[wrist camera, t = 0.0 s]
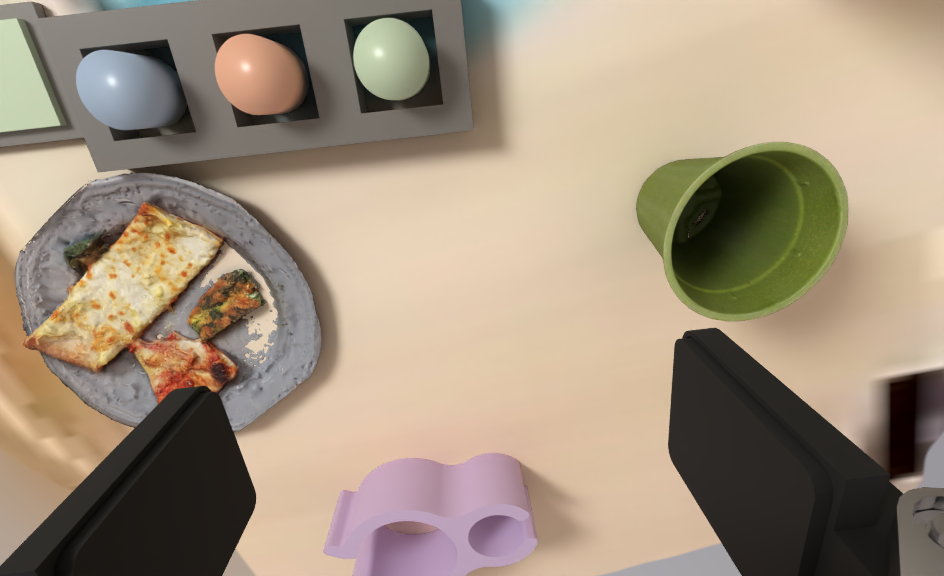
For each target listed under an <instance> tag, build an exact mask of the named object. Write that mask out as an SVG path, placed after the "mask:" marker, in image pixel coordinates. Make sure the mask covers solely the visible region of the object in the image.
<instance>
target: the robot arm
mask: <svg viewBox="0 0 944 576" xmlns="http://www.w3.org/2000/svg"><path fill="white" fill-rule="evenodd" d="M668 448H669V454H670V457H671V460H672V462H673V464H674V466H675V467H676V469H677V471H678V472H679V474H680V476H681V477H682V479H683V480H684V482H685V484H686V485H687V487H688V489H689V490H690V492H691V494H692V495H693V497H694V498H695V500H696V502H697V503H698V505H699V507H700V508H701V510H702V512H703V513H704V515H705V516H706V518H707V520H708V521H709V523H710V525H711V526H712V528H713V529H714V531H715V533H716V534H717V536H718V538H719V539H720V541H721V543H722V544H723V546H724V547H725V549H726V551H727V552H728V554H729V556H730V557H731V559H732V561H733V562H734V564H735V565H736V567H737V569H738V570H739V572H740V574H741V575H742V576H944V488H928V487H927V488H926V487H923V488H918V489H912V490H909V491H907V492H906V493H904V494H903V493H902V492H901V491H900V490H898V489H897V488H896V487H895V486H894V485H893V484H892V483H890V482H889V478H890V474H889V473H888V472H887V471H886V470H884V469H883V468H882V467H881V466H880V465H878V464H877V463H876V462H875V461H874V460H873V459H871V458H870V457H869V456H868V455H867V454H865V453H864V452H863V451H862V450H861V449H860V448H858V447H857V446H856V445H855V444H854V443H853V442H851V441H850V440H849V439H848V438H847V437H845V436H844V435H843V434H842V433H841V432H840V431H838V430H837V429H836V428H835V427H834V426H833V425H831V424H830V423H829V422H828V421H827V420H825V419H824V418H823V417H822V416H821V415H820V414H818V413H817V412H816V411H815V410H814V409H812V408H811V407H810V406H809V405H808V404H807V403H805V402H804V401H803V400H802V399H801V398H800V397H798V396H797V395H796V394H795V393H794V392H792V391H791V390H790V389H789V388H788V387H787V386H785V385H784V384H783V383H782V382H781V381H779V380H778V379H777V378H776V377H775V376H774V375H772V374H771V373H770V372H769V371H768V370H767V369H765V368H764V367H763V366H762V365H761V364H759V363H758V362H757V361H756V360H755V359H754V358H752V357H751V356H750V355H749V354H748V353H747V352H745V351H744V350H743V349H742V348H741V347H739V346H738V345H737V344H736V343H735V342H734V341H732V340H731V339H730V338H729V337H728V336H726V335H725V334H724V333H723V332H722V331H721V330H719V329H717V328H708V329H700V330H691V331H686V332H685V333H684V335H683V338H682V339H678V340H676V343H675V348H674V363H673V379H672V394H671V409H670V424H669V440H668ZM255 504H256V492H255V489H254V486H253V484H252V481H251V478H250V475H249V473H248V470H247V467H246V465H245V462H244V459H243V457H242V454H241V451H240V448H239V446H238V443H237V440H236V438H235V435H234V432H233V430H232V427H231V424H230V421H229V419H228V416H227V413H226V411H225V408H224V405H223V403H222V400H221V397H220V396H219V394H218V393H217V392H212V391H211V390H210V389H209V388H208V387H207V386H196V387H188V388H179V389H174V390H172V391H171V392H170V393H169V394H168V395H167V396H166V397H165V398H164V399H163V400H162V401H161V402H160V403H159V404H158V405H157V406H156V407H155V408H154V409H153V410H152V411H151V412H150V413H149V414H148V415H147V416H146V417H145V418H144V419H143V420H142V421H141V422H140V423H139V424H138V425H137V426H136V427H135V429H134V430H133V431H132V432H131V433H130V434H129V435H128V436H127V437H126V438H125V439H124V440H123V441H122V442H121V443H120V444H119V445H118V446H117V447H116V448H115V449H114V450H113V451H112V452H111V453H110V454H109V455H108V456H107V457H106V458H105V459H104V460H103V461H102V462H101V463H100V464H99V465H98V466H97V467H96V468H95V469H94V471H93V472H92V473H91V474H90V475H89V476H88V477H87V478H86V479H85V480H84V481H83V482H82V483H81V484H80V485H79V486H78V487H77V488H76V489H75V490H74V491H73V492H72V493H71V494H70V495H69V496H68V497H67V498H66V499H65V500H64V501H63V502H62V503H61V504H60V505H59V506H58V507H57V508H56V509H55V510H54V511H53V513H52V514H51V515H50V516H49V517H48V518H47V519H46V520H45V521H44V522H43V523H42V524H41V525H40V526H39V527H38V528H37V529H36V530H35V531H34V532H33V533H32V534H31V535H30V536H29V537H28V538H27V539H26V540H25V541H24V542H23V543H22V544H21V545H20V546H19V547H18V549H16V550H15V552H14V553H12V555H11V556H10V557H9V558H8V559H7V560H6V561H5V562H4V563H3V564H2V565H1V566H0V576H222V575H223V573H224V571H225V569H226V567H227V564H228V562H229V560H230V558H231V556H232V554H233V552H234V550H235V548H236V546H237V544H238V542H239V540H240V538H241V536H242V534H243V532H244V530H245V528H246V525H247V523H248V521H249V519H250V517H251V515H252V513H253V511H254V508H255Z"/></svg>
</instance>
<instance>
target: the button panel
mask: <svg viewBox="0 0 944 576" xmlns="http://www.w3.org/2000/svg"><path fill="white" fill-rule="evenodd" d="M429 17H433V22H434V30H435V39H436V47H437V55H438V64H439V72H440V81H441V89H442V98H443V104H442V105H433V106H424V107H415V108H406V109H397V110H388V111H379V112H370V113H368V110H367V105H366V99H365V93H364V88H363V84H362V82H361V81H360V79H359V77H358V75H357V73H356V70H355V66H354V59H353V53H354V47H355V43H356V42H355V37H354V31H353V26H357V25H366V24H370V23H371V22H373V21H375V20H378V19H382V18H395V19H398V20H401V21H402V20H411V19H420V18H429ZM37 21H38V24H39V26H40V29H41V31H42V34H43V36H44V39H45V41H46V44H47V46H48V49H49V51H50V54H51V56H52V59H53V61H54V64H55V66H56V69H57V71H58V74H59V76H60V79H61V81H62V84H63V86H64V89H65V91H66V94H67V96H68V99H69V101H70V104H71V106H72V109H73V111H74V114H75V116H76V119H77V121H78V124H79V126H80V129H81V131H82V134H83V136H84V139H85V141H86V144H87V146H88V149H89V151H90V154H91V156H92V159H93V161H94V164H95V166H96V169H97V171H98V172H106V171H115V170H123V169H132V168H141V167H150V166H159V165H168V164H177V163H186V162H195V161H204V160H213V159H222V158H231V157H240V156H249V155H257V154H266V153H275V152H284V151H293V150H302V149H311V148H320V147H329V146H338V145H347V144H356V143H365V142H374V141H383V140H391V139H400V138H409V137H418V136H427V135H436V134H445V133H454V132H463V131H472V130H474V129H473V119H472V109H471V99H470V88H469V78H468V68H467V58H466V47H465V37H464V27H463V16H462V6H461V0H197V1H188V2H179V3H170V4H161V5H152V6H143V7H135V8H126V9H117V10H108V11H99V12H90V13H81V14H72V15H64V16H55V17H46V18H37ZM295 32H301V33H302V38H303V42H304V47H305V52H306V56H307V61H308V66H309V70H310V75H311V80H312V84H313V89H314V94H315V99H316V103H317V108H318V113H319V117H320V118H317V119H308V120H299V121H290V122H281V123H272V124H263V125H254V124H253V120H252V117H251V114H249V113H246V112H244V111H242V110H240V109H238V108H236V107H235V106H234V105H233V104H231V103H230V102H229V101H228V100H227V98H226V97H225V96H224V95H223V93H222V91H221V90H220V88H219V85H218V83H217V80H216V75H215V60H216V56H217V53H218V51H219V49H220V48H221V46H222V45H223V44H224V43H225V42H226V41H227V40H228V39H230V38H231V37H233V36H236V35H240V34H253V35H257V36H268V35H277V34H286V33H295ZM162 47H170V49H171V52H172V56H173V59H174V62H175V65H176V68H177V72H178V75H179V78H180V81H181V85H182V88H183V91H184V94H185V97H186V101H187V104H188V107H189V110H190V113H191V117H192V120H193V123H194V126H195V130H196V132H192V133H183V134H174V135H165V136H156V137H147V138H140V137H139V134H138V131H137V129H134V130H120V129H115V128H112V127H109V126H107V125H105V124H103V123H102V122H100V121H99V120H98V119H96V118H95V117H94V116H93V115H92V114H91V113H90V112H89V111H88V110H87V108H86V107H85V106H84V104H83V102H82V101H81V98H80V96H79V93H78V90H77V86H76V73H77V69H78V66H79V64H80V62H81V61H82V60H83V58H84V57H86V56H87V55H88V54H90V53H92V52H94V51H98V50H112V51H119V52H126V51H135V50H144V49H153V48H162Z"/></svg>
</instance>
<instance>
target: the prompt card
mask: <svg viewBox="0 0 944 576" xmlns="http://www.w3.org/2000/svg"><path fill="white" fill-rule="evenodd" d="M37 18H46V15H45V12H44V10H43V7H42V5H41V4H39V3H35V2H24V3H15V4H6V5H0V147H5V146H14V145H23V144H32V143H41V142H50V141H59V140H68V139H76V138H84V136H83V134H82V131H81V129H80V126H79V124H78V121H77V119H76V116H75V114H74V111H73V109H72V106H71V104H70V101H69V99H68V96H67V94H66V91H65V89H64V86H63V84H62V81H61V79H60V76H59V74H58V71H57V69H56V66H55V64H54V61H53V59H52V56H51V54H50V51H49V49H48V46H47V44H46V41H45V39H44V36H43V34H42V31H41V29H40V26H39V24H38V21H37Z"/></svg>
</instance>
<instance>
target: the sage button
mask: <svg viewBox="0 0 944 576" xmlns="http://www.w3.org/2000/svg"><path fill="white" fill-rule="evenodd" d="M353 59H354V66H355V70H356V73H357V75H358V77H359V79H360V81H361V82H362V84H363V85H364V86H365V87H366V88H367V89H368V90H369V91H370V92H371V93H373V94H374V95H376V96H378V97H380V98H383V99H387V100H407V99H410V98H412V97H414V96H416V95H417V94H418V93H419V92H421V91H422V89H423V88H424V87H425V85H426V83H427V81H428V79H429V75H430V67H431V65H430V57H429V54H428V51H427V49H426V46H425V44H424V42H423V40H422V38H421V37H420V35H419V34H418V33H417V31H416V30H415V29H414V28H413V27H411V26H410V25H409V24H407V23H405V22H404V21H401V20H398V19H395V18H382V19H378V20H375V21H373V22H371V23H370V24H368V25H367V26H366V27H365V28H364V29H363V30H362V31H361V33H360V34H359V36H358V38H357V40H356V43H355V47H354V53H353Z"/></svg>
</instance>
